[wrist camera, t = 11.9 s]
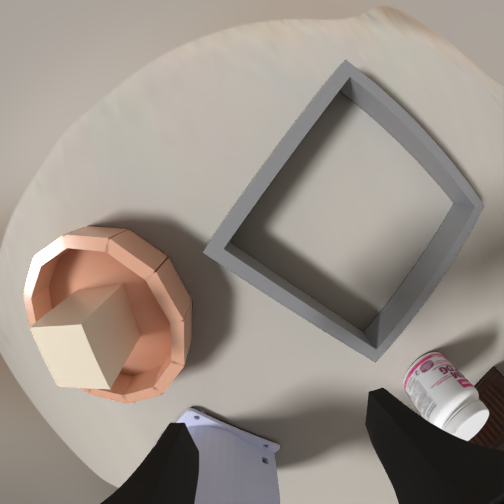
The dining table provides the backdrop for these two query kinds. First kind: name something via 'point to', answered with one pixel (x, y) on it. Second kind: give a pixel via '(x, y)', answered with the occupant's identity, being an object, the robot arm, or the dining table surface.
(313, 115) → the tray
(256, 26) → the dining table surface
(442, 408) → the pill bottle
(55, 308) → the sandstone block
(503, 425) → the manual coffee grinder
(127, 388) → the bowl
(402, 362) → the dining table surface
